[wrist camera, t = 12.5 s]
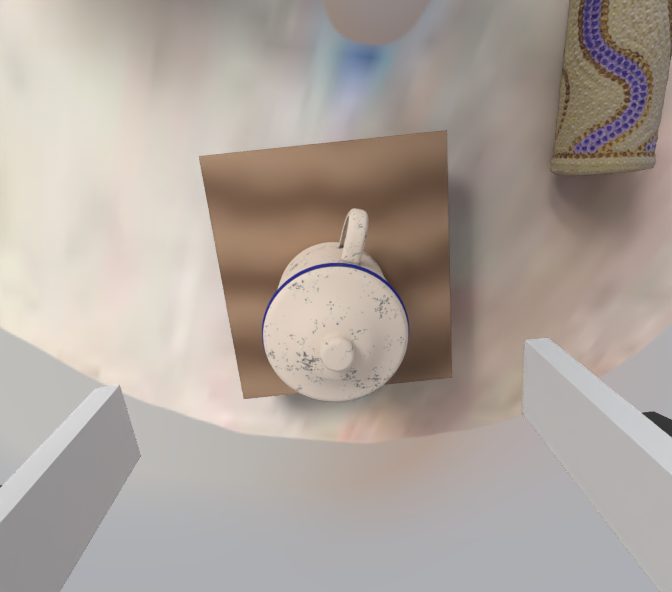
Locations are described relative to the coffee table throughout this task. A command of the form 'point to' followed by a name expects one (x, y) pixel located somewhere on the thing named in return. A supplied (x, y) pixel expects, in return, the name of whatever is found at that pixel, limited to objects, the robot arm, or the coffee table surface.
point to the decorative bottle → (612, 86)
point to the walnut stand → (334, 236)
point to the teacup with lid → (336, 320)
